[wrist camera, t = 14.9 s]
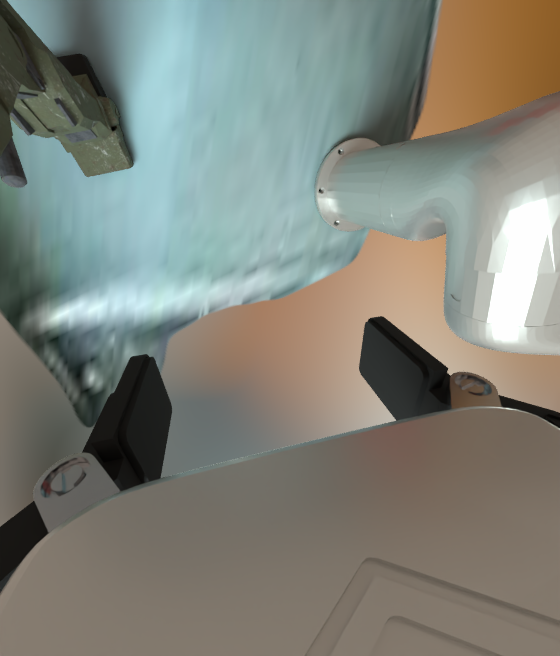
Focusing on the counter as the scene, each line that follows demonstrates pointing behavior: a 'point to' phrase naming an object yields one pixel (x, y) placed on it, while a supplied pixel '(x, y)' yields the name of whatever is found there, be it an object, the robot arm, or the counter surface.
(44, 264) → the counter surface
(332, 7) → the counter surface
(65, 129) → the mechanical leg
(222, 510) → the robot arm
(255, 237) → the counter surface
